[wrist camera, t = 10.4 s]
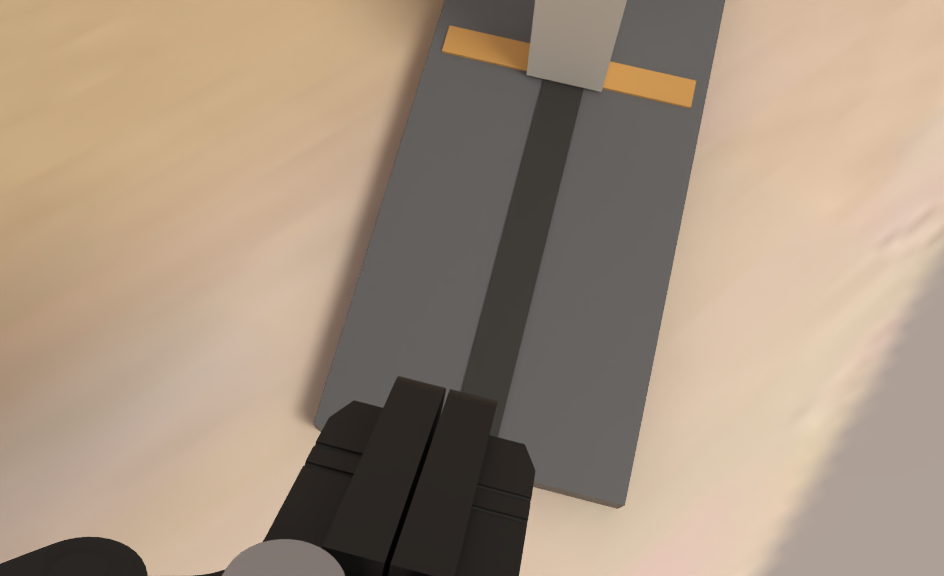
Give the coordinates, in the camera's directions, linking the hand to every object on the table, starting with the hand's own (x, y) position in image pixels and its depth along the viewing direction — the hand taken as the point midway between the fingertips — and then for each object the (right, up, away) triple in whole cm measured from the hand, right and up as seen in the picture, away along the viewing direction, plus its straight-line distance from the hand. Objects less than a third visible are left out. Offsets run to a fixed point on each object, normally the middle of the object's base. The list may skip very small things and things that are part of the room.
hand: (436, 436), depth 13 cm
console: (+3, +7, +22) cm, 24 cm away
